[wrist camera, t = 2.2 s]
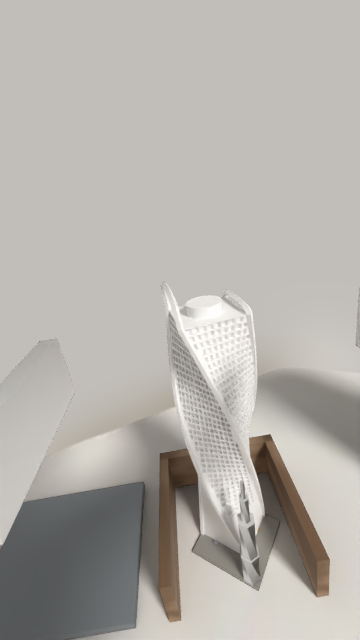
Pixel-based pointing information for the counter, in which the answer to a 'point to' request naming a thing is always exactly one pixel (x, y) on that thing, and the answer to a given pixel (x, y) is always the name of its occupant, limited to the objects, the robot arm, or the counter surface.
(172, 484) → the walnut bay
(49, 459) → the counter surface
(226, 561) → the twisted skyscraper model
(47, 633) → the slate mat
